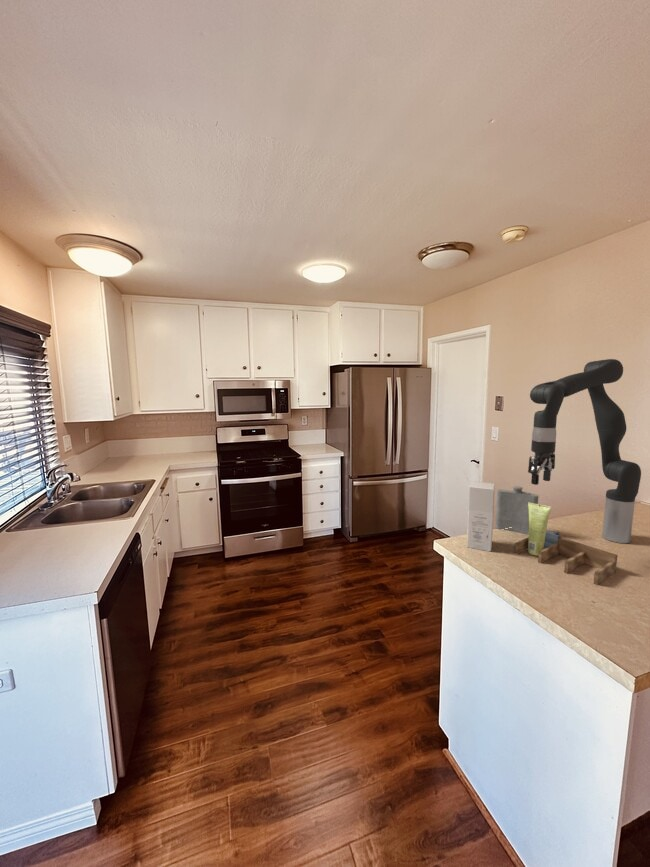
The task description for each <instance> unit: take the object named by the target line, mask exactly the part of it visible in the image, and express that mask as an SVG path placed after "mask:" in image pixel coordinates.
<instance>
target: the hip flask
mask: <svg viewBox="0 0 650 867" xmlns="http://www.w3.org/2000/svg"><path fill="white" fill-rule="evenodd" d="M512 488H513V490H509V489H508V490H507V489H497V490H496V504H495V526H494V527H495V529H496V530H501V529H504V530H503V531H509V532H514V533H520V534H524V535H528V536H529V508H528V502H529V503H534V504H539V495H538V494H535V493H531V492H528V491H523V487H522V486H519V485H513V487H512ZM509 527H512V528H509ZM505 528H508V529H505Z"/></svg>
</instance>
